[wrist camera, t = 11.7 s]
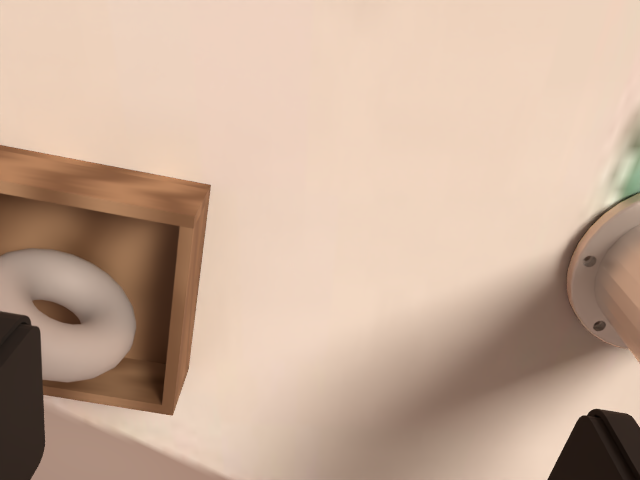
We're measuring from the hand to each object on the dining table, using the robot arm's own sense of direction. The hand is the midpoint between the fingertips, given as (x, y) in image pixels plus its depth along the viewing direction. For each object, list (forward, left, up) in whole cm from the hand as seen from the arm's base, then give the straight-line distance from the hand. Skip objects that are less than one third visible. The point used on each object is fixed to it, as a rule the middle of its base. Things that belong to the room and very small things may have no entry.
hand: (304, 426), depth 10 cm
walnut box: (+14, +16, -28) cm, 35 cm away
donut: (+14, +16, -28) cm, 34 cm away
